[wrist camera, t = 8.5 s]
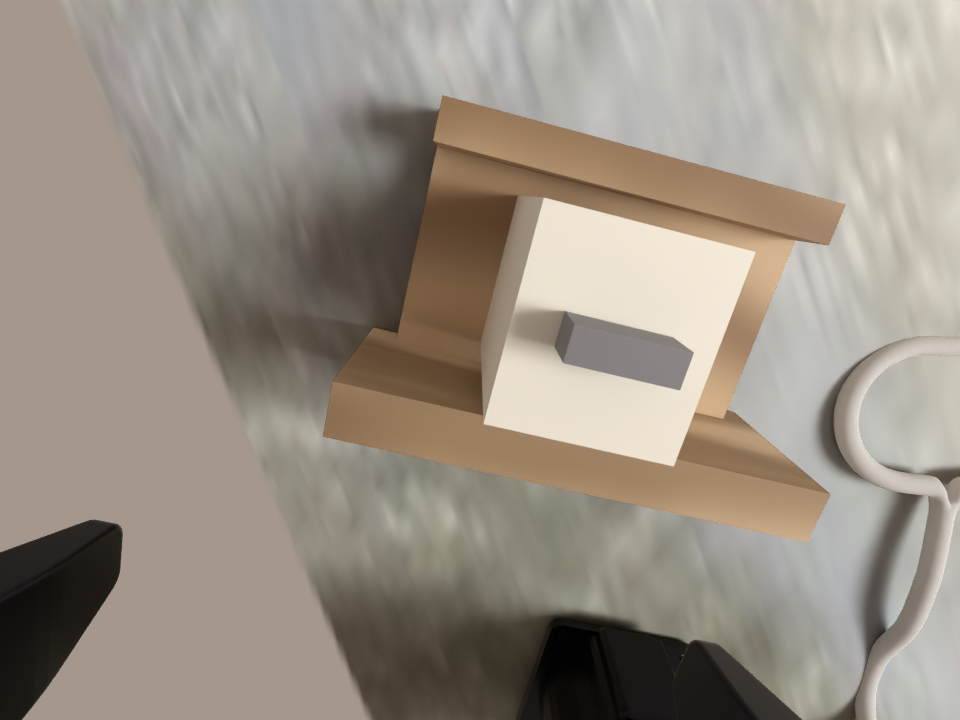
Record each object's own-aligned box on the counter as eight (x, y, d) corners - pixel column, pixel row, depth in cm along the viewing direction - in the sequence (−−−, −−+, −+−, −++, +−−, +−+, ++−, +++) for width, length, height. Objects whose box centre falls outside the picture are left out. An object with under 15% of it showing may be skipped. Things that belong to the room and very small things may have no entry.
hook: (750, 748, 26) (802, 324, 23) (947, 752, 26) (1022, 333, 24) (857, 927, 19) (951, 345, 16) (1127, 932, 19) (1267, 357, 16)
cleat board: (719, 449, 22) (807, 542, 16) (365, 368, 21) (322, 436, 15) (816, 209, 19) (964, 217, 13) (417, 102, 18) (390, 60, 12)
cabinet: (605, 371, 19) (693, 493, 12) (480, 342, 19) (484, 447, 11) (651, 229, 18) (787, 258, 10) (517, 195, 18) (552, 198, 10)
